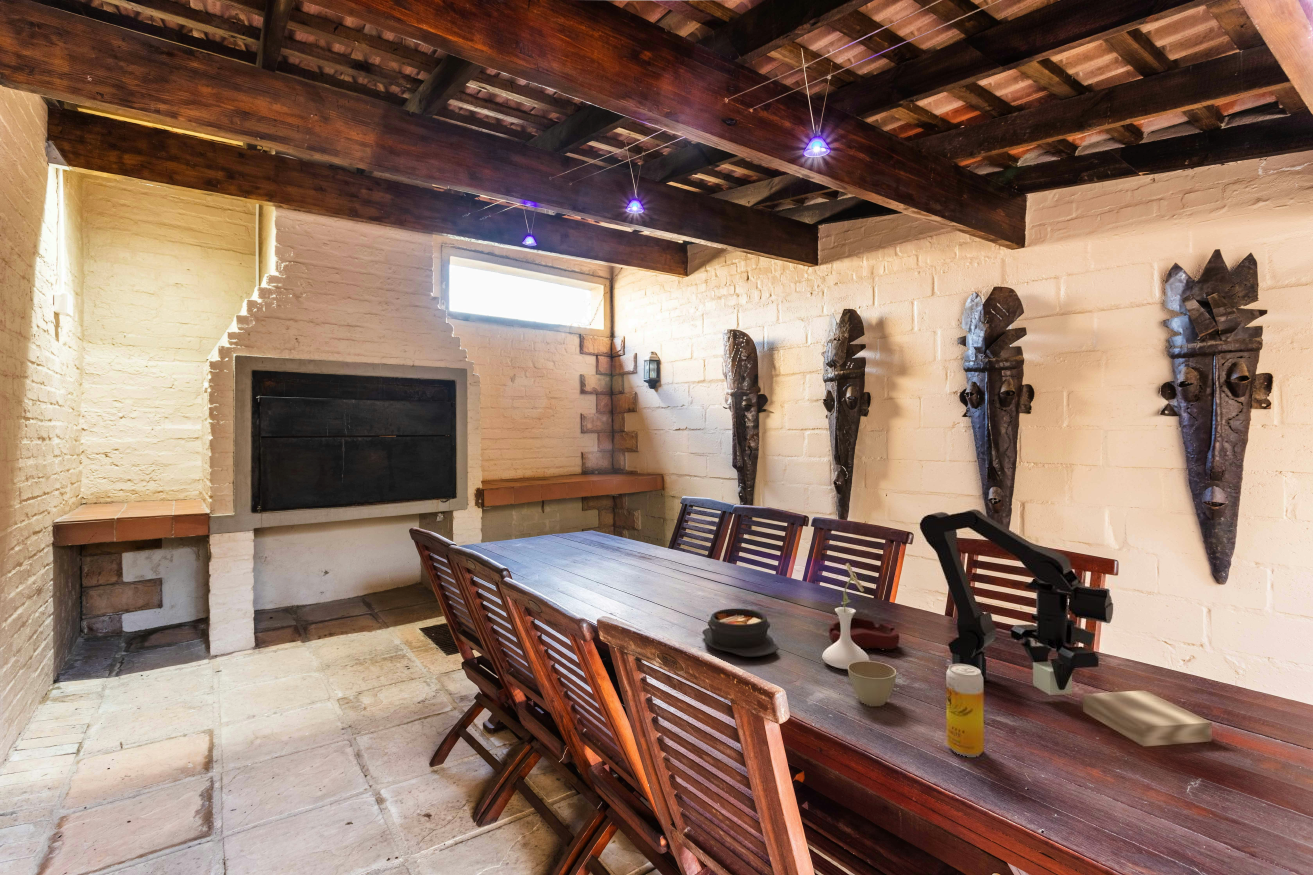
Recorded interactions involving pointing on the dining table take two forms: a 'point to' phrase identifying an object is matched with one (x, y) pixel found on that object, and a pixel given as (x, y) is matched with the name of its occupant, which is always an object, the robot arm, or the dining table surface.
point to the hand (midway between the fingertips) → (1052, 684)
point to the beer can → (965, 710)
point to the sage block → (1048, 679)
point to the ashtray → (867, 634)
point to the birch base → (1147, 718)
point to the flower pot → (872, 681)
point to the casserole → (740, 632)
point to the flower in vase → (845, 635)
